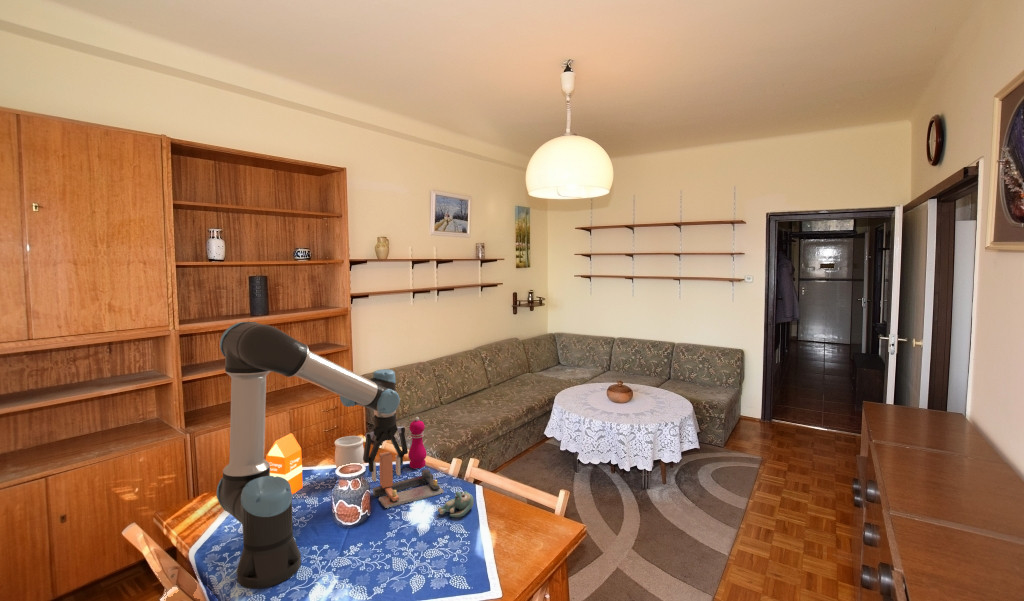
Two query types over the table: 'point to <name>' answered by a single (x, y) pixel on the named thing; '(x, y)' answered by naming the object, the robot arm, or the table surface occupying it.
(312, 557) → the table surface
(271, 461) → the orange juice
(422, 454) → the pepper mill
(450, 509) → the stuffed animal
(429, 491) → the bolt plate
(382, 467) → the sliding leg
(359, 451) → the jar
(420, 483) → the rail
